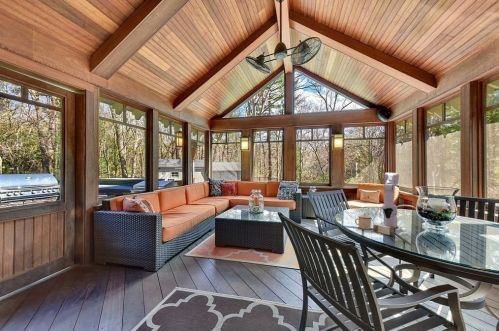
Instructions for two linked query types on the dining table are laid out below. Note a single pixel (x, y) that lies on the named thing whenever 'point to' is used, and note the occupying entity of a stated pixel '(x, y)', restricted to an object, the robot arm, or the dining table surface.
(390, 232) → the hinge post
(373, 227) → the post
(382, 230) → the beige flat panel
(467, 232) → the dining table surface
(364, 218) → the teacup with lid
